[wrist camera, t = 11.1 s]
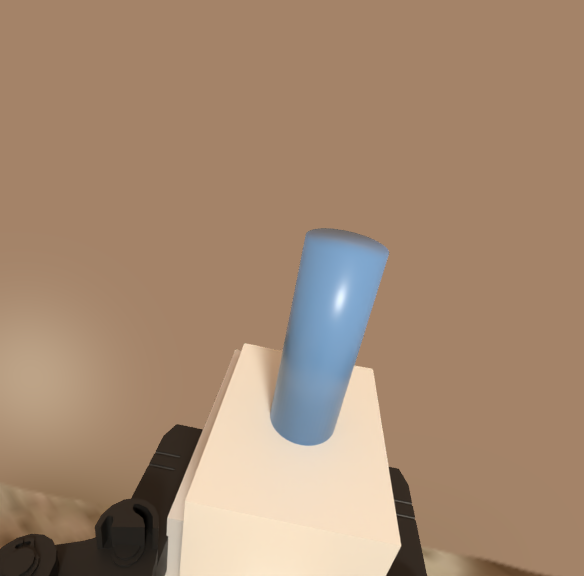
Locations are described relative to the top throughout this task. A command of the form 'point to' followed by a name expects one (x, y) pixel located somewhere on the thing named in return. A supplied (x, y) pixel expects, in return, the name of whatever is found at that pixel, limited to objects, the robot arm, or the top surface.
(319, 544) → the plug
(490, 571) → the top surface
